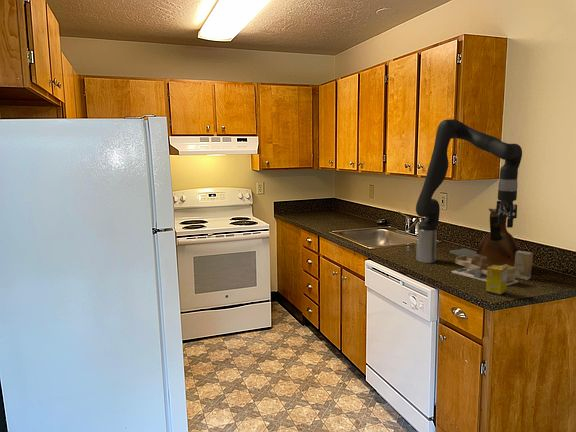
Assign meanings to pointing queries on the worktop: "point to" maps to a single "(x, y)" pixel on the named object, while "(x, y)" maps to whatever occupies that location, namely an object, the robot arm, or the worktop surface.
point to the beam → (467, 263)
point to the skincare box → (523, 265)
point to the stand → (476, 275)
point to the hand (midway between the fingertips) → (505, 225)
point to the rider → (479, 260)
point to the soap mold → (463, 252)
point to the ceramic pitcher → (498, 243)
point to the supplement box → (496, 280)
